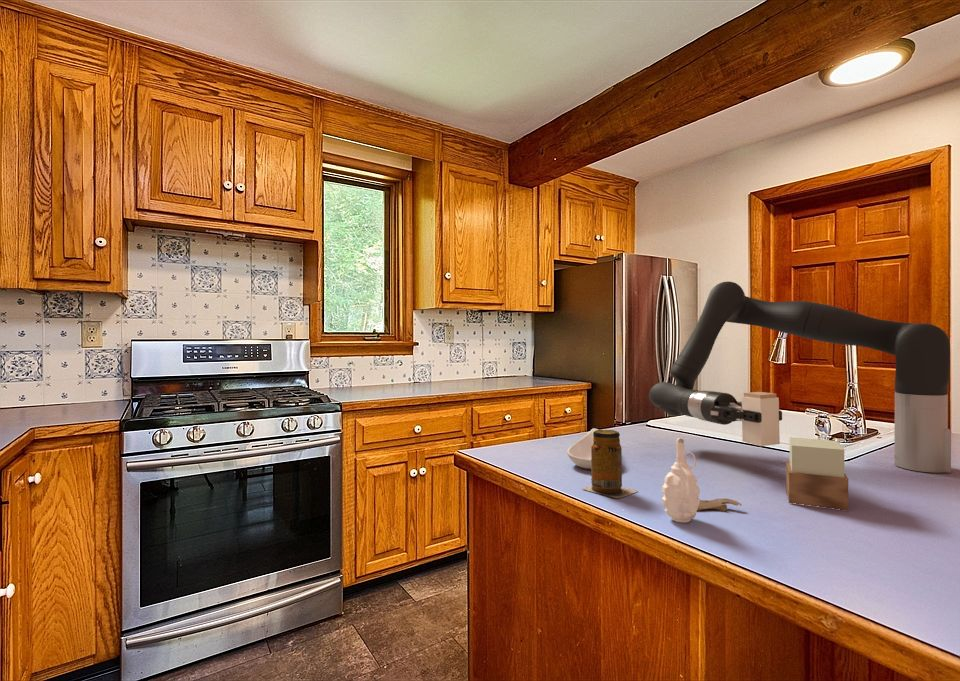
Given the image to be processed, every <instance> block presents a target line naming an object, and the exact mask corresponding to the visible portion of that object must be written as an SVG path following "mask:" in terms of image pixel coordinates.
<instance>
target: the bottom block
mask: <svg viewBox="0 0 960 681" xmlns="http://www.w3.org/2000/svg"><path fill="white" fill-rule="evenodd" d="M786 491H787V493H786V497H787V496H788V497H787V500H789V501H788V504H789V503H796V504H804V505H811V506H819V507H826V508H834V509H840V510H839V511H842V510H847V511H846V512H849V477H848V476H847V475H846V473H845V472H844V478H842V477H833V476H823V475H814V474H805V473H795V472H792V470H791V466H790V461H785V492H786ZM826 508H825V509H826ZM834 509H833V510H834Z"/></svg>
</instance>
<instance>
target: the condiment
mask: <svg viewBox="0 0 960 681" xmlns="http://www.w3.org/2000/svg"><path fill="white" fill-rule="evenodd" d="M620 436H621V435H620V432H619V431H617V430H613V429H606V430H603V429H598V430H596V431H594V433H593V441H594V443H593V444H592V446H591V469H590V470H591V473H590V474H591V475H590V476H591V479H590V480H591V485H589V486H586V487H582V490H585V491H588V492H591V493H595V494H599V495H603V496H605V497H609V498H614V499H620V498H623V497H627V496H630V495H632V494H635V493H637V492H638V491H639V490H635V489H631V488H629V487H628V488H627V487H624V486H623V477H622V476H623V471H622V470H623V468H622V467H623V466H622V465H623V464H622V460H623V459H622V457H623V456H622V450H623V449H622V448H623V447H622V445H621V440H620Z"/></svg>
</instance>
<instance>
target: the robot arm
mask: <svg viewBox="0 0 960 681" xmlns="http://www.w3.org/2000/svg"><path fill="white" fill-rule="evenodd" d="M707 296H708V297H707V298H706V300H705V304H704V307H703V309H702V312H701V314H700V316H699V318H698V321H697V323H696V325H695V327H694V329H693V331H692V332H691V334H690V336H689V338H688V340H687V341H686V344H685V345H684V346H683V348H682V349H681V351H680V353H679V355H677V358H676V359H675V361H674V363H673V364H672V367H671V368H670V370H669V374H670V375H671V377H672V378H673V379H674V380H675V384H674V383H672V382H671V383H670V382H666V381H662V382H658V383H655V384H654V385H653V386H652V387H651V388H650V390H649V392H648V399H649V401H650V403H651V404H652V405H653V406H655V407H656V408H658V409H660V410H661V411H663V412H664V413H666V414H668V415H669V416H672V417H678V416H680V415H683V416H687V417H689V418H691V417H692V418H695V419H698V420H701V421H704V422H709V423H712V424H719V425H724V426H725V425H730V424H731V423H734V422H742V421H750V422H756V423H760V422H761V421H762V415H761V413H760V412H755V411H749V410H745V409H742V401H737V398H735V396H733V394H730V393H727V392H720V391H712V390H700V389H699V390H698V389H695V387H694V386H695V383H696V380H697V379H698V378H699V375H700V373H701V372H702V371H703V369H704V367H705V365H706V364H707V361H708V359H709V357H710V355H711V352H712V350H713V347H714V344H715V342H716V340H717V338H718V336H719V334H720V332H721V330H722V329H723V327H724V326H725V324H726V323H732V324H733V323H734V324H741V325H742V324H743V325H750V326H755V327H761V328H765V329H769V330H772V331H777V332H780V333H784V334H787V335H788V334H790V335H793V336H796V337H800V338H804V339H808V340H813V341H818V342H821V343H822V342H823V343H829V344H837V345H845V346H855V347H863V348H866V349H872V350H875V351H878V352H883V353H886V354H889V355H892V356H895V375H894V454H893V459H894V462H893V463H894V465H895V466H897V467H898V468H902V469H905V470H911V471H916V472H923V473H933V474H934V473H952V429H950V428H948V427H949V426H948V422H949V421H948V420H949V417H948V416H949V415H948V412H949V411H948V410H949V408H948V406H949V405H948V404H949V402H948V401H949V400H948V398H949V395H948V394H949V391H948V390H949V383H950V377H951V376H950V375H951V374H950V372H951V371H950V370H951V368H950V367H951V365H950V364H951V343H950V338H949V336H948V334H947V333H946V332H945V331H944V330H943V329H942V328H940V327H939V326H937V325H935V324H931V323H925V322H922V323H915V322H914V323H913V322H912V323H911V322H900V321H894V320H893V321H892V320H886V319H880V318H874V317H871V316H867V315H863V314H861V313H859V312H856V311H851V310H849V309H844V308H842V307H837V306H834V305H829V304H824V303H819V302H813V301H806V300H792V301H791V300H789V301H768V300H762V299H757V298H753V297H749V296H746V295H745V292H744V289H743V288H742V287H741V285H739V284H738V283H736V282H733V281H727V280H726V281H722V282H720V283H717V284H716V285H715V286H713V287H712V289H711V290H710V291H709V294H708V295H707ZM782 420H783V412H782V410H780V409H779V422H780V421H782Z"/></svg>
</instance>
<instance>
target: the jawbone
mask: <svg viewBox="0 0 960 681" xmlns="http://www.w3.org/2000/svg"><path fill="white" fill-rule="evenodd" d="M727 504H728V505H729V504H730V505H734V506H736V507H737V506H738V505H740V506H742V504H741V502H739V501H737V500H734V499H730V498H715V499H710V500H703V499H700V503H699V506H698V510H697V512H700V511H701V510H717V511H721V512H727V510H728V505H727Z"/></svg>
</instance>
